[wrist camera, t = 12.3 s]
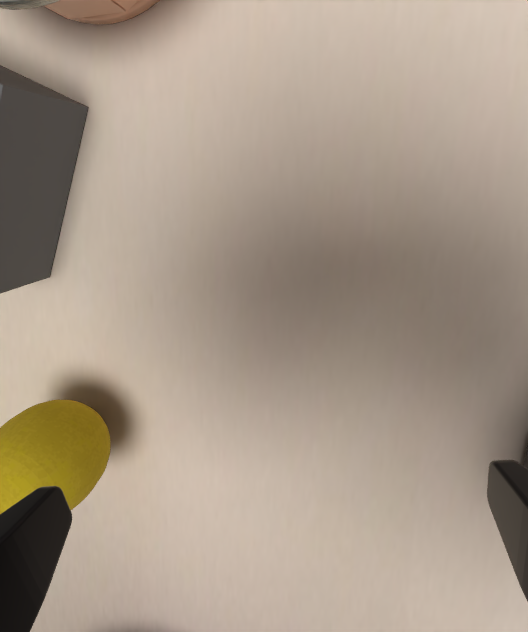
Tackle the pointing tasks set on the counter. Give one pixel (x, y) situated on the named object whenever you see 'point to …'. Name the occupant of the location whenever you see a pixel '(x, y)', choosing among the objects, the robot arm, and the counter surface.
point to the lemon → (52, 451)
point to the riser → (34, 174)
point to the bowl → (100, 10)
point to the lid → (24, 3)
